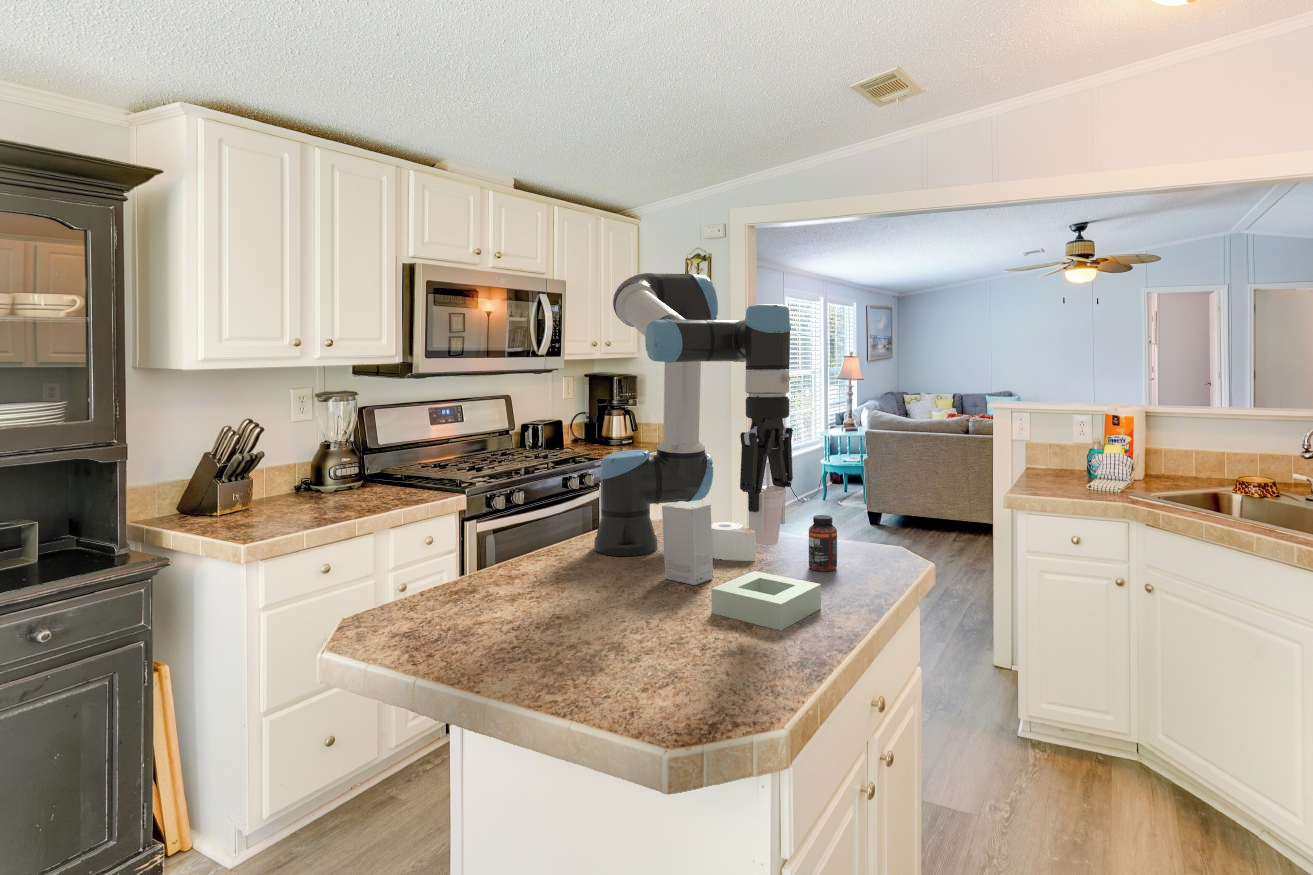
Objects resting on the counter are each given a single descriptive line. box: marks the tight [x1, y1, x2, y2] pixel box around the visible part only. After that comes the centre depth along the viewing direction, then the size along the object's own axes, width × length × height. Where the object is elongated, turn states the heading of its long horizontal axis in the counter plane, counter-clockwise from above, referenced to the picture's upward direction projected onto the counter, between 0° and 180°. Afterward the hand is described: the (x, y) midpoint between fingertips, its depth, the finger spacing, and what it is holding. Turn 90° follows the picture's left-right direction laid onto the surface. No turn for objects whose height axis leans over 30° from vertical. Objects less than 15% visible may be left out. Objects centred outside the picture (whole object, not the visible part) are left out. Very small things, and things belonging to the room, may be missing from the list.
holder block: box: [711, 570, 822, 632], centre depth 132 cm, size 14×14×4 cm
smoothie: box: [754, 462, 786, 546], centre depth 131 cm, size 6×6×14 cm
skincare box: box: [661, 501, 714, 586], centre depth 152 cm, size 8×7×16 cm
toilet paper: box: [711, 521, 757, 562], centre depth 171 cm, size 8×11×7 cm
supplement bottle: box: [808, 514, 838, 572], centre depth 159 cm, size 6×6×11 cm
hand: (767, 526), depth 131 cm, fingers closed on smoothie, 6 cm apart
